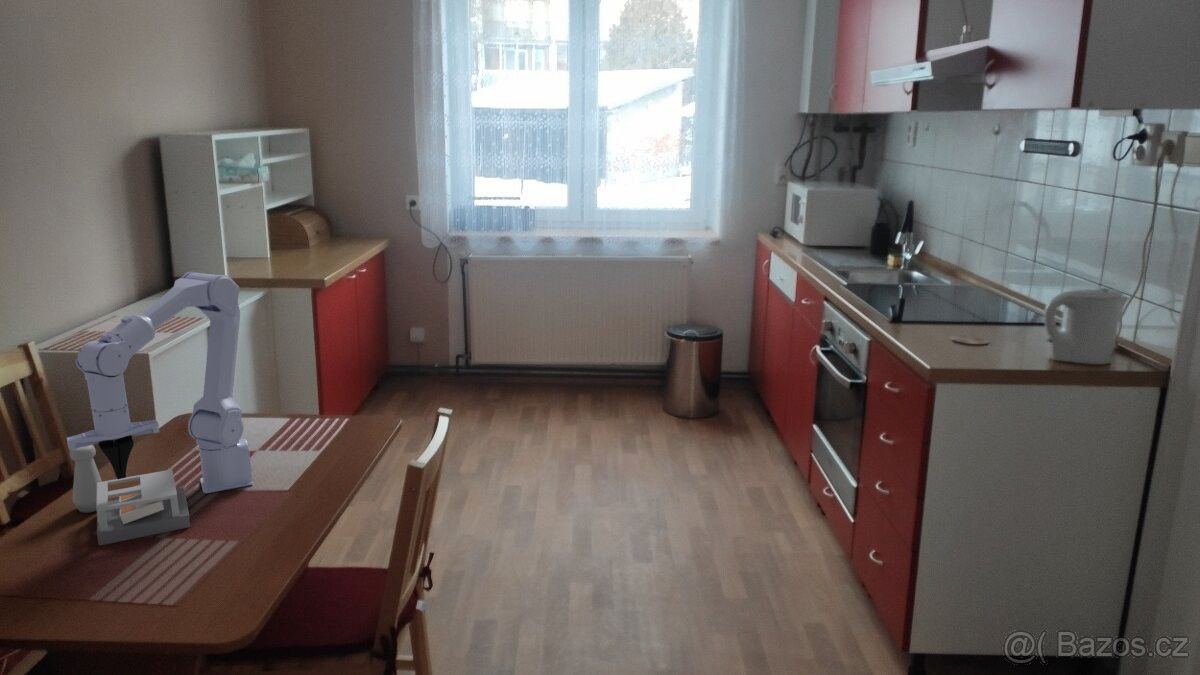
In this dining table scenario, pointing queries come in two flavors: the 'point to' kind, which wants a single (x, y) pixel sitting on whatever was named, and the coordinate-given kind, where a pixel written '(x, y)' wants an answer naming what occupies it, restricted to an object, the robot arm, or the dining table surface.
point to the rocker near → (140, 510)
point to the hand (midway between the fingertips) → (120, 476)
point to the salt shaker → (85, 479)
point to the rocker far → (130, 497)
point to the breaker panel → (151, 490)
